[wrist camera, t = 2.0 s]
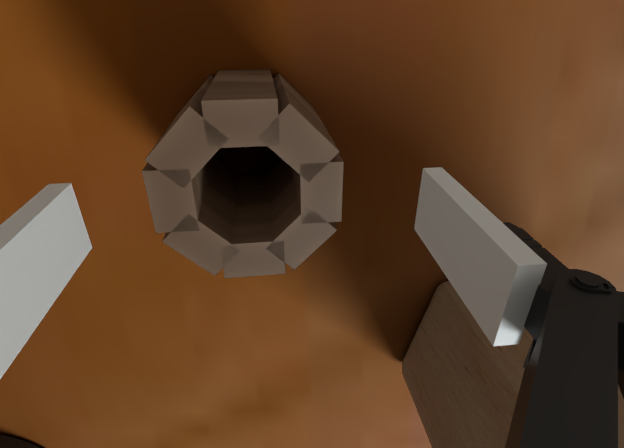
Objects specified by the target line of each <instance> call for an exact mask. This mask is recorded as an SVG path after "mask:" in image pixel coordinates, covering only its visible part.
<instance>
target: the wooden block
mask: <svg viewBox="0 0 624 448" xmlns="http://www.w3.org/2000/svg"><path fill="white" fill-rule="evenodd" d="M532 341H533V337H532V336H531V335H530V333H529V332H528V331H527V330H526V328H524V331H523V334H522V337H521V340H520V343H519V344H515V345H504V346H493V345H492V344H491V342H490V341H489V340H488V338H487V337H486V335H485V334H484V332H483V331H482V329H481V328H480V326H479V325H478V323H477V322H476V320H475V319H474V317H473V316H472V314H471V313H470V311H469V310H468V308H467V307H466V305H465V304H464V302H463V301H462V299H461V298H460V296H459V295H458V293H457V292H456V290H455V289H454V287H453V286H452V284H451V283H450V281H448V282H443V283H441V284H440V285H439V286H438V287H437V289H436V291H435V293H434V295H433V297H432V299H431V302H430V304H429V306H428V308H427V310H426V312H425V314H424V317H423V319H422V321H421V323H420V325H419V327H418V329H417V332H416V334H415V336H414V338H413V340H412V342H411V344H410V347H409V349H408V351H407V353H406V355H405V357H404V359H403V363H402V373H403V376H404V378H405V381H406V383H407V386H408V388H409V391H410V393H411V396H412V398H413V401H414V403H415V406H416V408H417V411H418V413H419V416H420V418H421V421H422V423H423V426H424V428H425V431H426V433H427V436H428V438H429V441H430V443H431V446H432V448H505V445H506V441H507V437H508V433H509V429H510V425H511V421H512V417H513V413H514V409H515V405H516V401H517V397H518V393H519V389H520V385H521V381H522V377H523V373H524V369H525V368H524V367H523V365H524V362H525V359H526V357H527V354H528V351H529V349H530V346H531V343H532ZM618 448H624V399H623V396H622V394H621V391H620V388H619V385H618Z"/></svg>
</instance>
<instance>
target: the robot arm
mask: <svg viewBox="0 0 624 448" xmlns="http://www.w3.org/2000/svg"><path fill="white" fill-rule="evenodd" d="M414 229H415V231H416V232H417V234H418V235H419V237H420V238H421V240H422V241H423V243H424V244H425V246H426V247H427V249H428V250H429V252H430V253H431V255H432V256H433V258H434V259H435V261H436V262H437V264H438V265H439V267H440V268H441V270H442V271H443V273H444V274H445V276H446V277H447V279H448V280H449V281H450V283H451V284H452V286H453V287H454V289H455V290H456V292H457V293H458V295H459V296H460V298H461V299H462V301H463V302H464V304H465V305H466V307H467V308H468V310H469V311H470V313H471V314H472V316H473V317H474V319H475V320H476V322H477V323H478V325H479V326H480V328H481V329H482V331H483V332H484V334H485V335H486V337H487V338H488V340H489V341H490V342H491V344H492V345H493V346H504V345H515V344H519V343H520V340H521V337H522V334H523V331H524V328H526V330H527V331H528V332H529V333H530V335H531V336H532V337H533V341H532V343H531V346H530V349H529V351H528V354H527V357H526V359H525V362H524V365H523V367H524V368H525V369H524V373H523V377H522V381H521V385H520V389H519V393H518V397H517V401H516V405H515V409H514V413H513V417H512V421H511V425H510V429H509V433H508V437H507V441H506V445H505V448H618V385H619V388H620V391H621V394H622V396H623V399H624V292H619V291H616V288H615V287H614V286H613V285H612V284H611V283H610V282H609V281H607V280H606V279H604V278H602V277H601V276H599V275H596V274H593V273H591V272H588V271H583V270H578V269H568V268H567V267H566V266H565V265H563V264H562V263H561V262H560V261H559V260H558V259H557V258H555V257H554V256H553V255H552V254H551V253H550V252H548V251H547V250H546V249H545V248H542V245H540V244H539V243H538V242H537V241H536V240H534V239H533V238H532V237H531V236H530V235H529V234H528V233H527V232H525V231H524V230H523V229H521V228H519V227H517V226H515V225H513V224H511V223H509V222H506V223H502V222H501V221H500V220H499V219H498V218H497V217H496V216H494V215H493V214H492V213H491V212H490V211H489V210H488V209H487V208H486V207H485V206H484V205H482V204H481V203H480V202H479V201H478V200H477V199H476V198H475V197H474V196H473V195H471V194H470V193H469V192H468V191H467V190H466V189H465V188H464V187H463V186H462V185H461V184H459V183H458V182H457V181H456V180H455V179H454V178H453V177H452V176H451V175H450V174H449V173H447V172H446V171H445V170H444V169H443V168H442V167H436V168H423V171H422V178H421V185H420V192H419V199H418V206H417V213H416V220H415V227H414ZM91 249H92V245H91V242H90V239H89V236H88V233H87V230H86V227H85V224H84V221H83V218H82V215H81V212H80V209H79V205H78V202H77V199H76V196H75V193H74V190H73V187H72V184H71V183H63V184H48V185H47V186H46V187H45V188H44V189H42V190H41V191H40V192H39V193H38V194H37V195H35V196H34V197H33V198H32V199H31V200H29V201H28V202H27V203H26V204H25V205H24V206H22V207H21V208H20V209H19V210H18V211H16V212H15V213H14V214H13V215H12V216H11V217H9V218H8V219H7V220H6V221H5V222H4V223H2V224H1V225H0V379H1V378H2V376H3V375H4V373H5V372H6V371H7V369H8V368H9V366H10V365H11V363H12V362H13V361H14V359H15V358H16V356H17V355H18V353H19V352H20V351H21V349H22V348H23V346H24V345H25V343H26V342H27V340H28V339H29V338H30V336H31V335H32V333H33V332H34V330H35V329H36V328H37V326H38V325H39V323H40V322H41V320H42V319H43V317H44V316H45V315H46V313H47V312H48V310H49V309H50V307H51V306H52V305H53V303H54V302H55V300H56V299H57V297H58V296H59V295H60V293H61V292H62V290H63V289H64V287H65V286H66V284H67V283H68V282H69V280H70V279H71V277H72V276H73V274H74V273H75V272H76V270H77V269H78V267H79V266H80V264H81V263H82V261H83V260H84V259H85V257H86V256H87V254H88V253H89V251H90V250H91ZM0 448H40V447H38V446H36V445H33V444H31V443H28V442H26V441H23V440H20V439H16V438H13V437H9V436H4V435H0Z"/></svg>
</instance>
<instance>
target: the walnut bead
mask: <svg viewBox="0 0 624 448" xmlns="http://www.w3.org/2000/svg"><path fill="white" fill-rule="evenodd" d="M255 146H268V147H269V148H270V149H271V150H272V151H274V152H275V153H276V154H277V155H278V156H279V157H280V158H282V159H283V160H282V161H281V162H280V163H279V164H278V165H277V166H276V168H275V169H274V170H273V171H272V172H271V173H270V174H269V175H266V176H246V177H238V176H237V175H235V174H234V173H233V172H232V171H230V170H229V169H228V168H227V167H225V166H224V165H223V164H222V163H220V162H219V161H218V160H217V159H215V157H214V154H215V153H216V152H217V151H218V150H219V149H220V148H231V147H255ZM339 152H340V151H339V150H338V148H337V146H336V145H335V143H334V141H333V140H332V138H331V136H330V134H329V133H328V131H327V129H326V128H325V126H324V124H323V123H322V121H321V119H320V117H319V116H318V114H317V112H316V111H315V109H314V108H313V107H312V106H311V105H310V104H309V103H308V102H307V101H306V100H305V99H304V98H303V97H302V96H301V95H300V94H299V93H298V92H297V91H296V90H295V89H294V88H293V87H292V86H291V85H290V84H289V83H288V82H287V81H286V80H285V79H284V78H283V77H282V76H281V75H280V74H279V73H278V74H277V75H276V76H275V77H274V79H273V78H272V74H271V70H270V69H269V70H219V71H218V72H217V74H216V76H215V78H214V77H213V76H212V75H210V76H209V77H208V78H207V79H206V81H205V82H204V83H203V84H202V85H201V87H200V88H199V89H198V90H197V92H196V93H195V94H194V95H193V96H192V98H191V99H190V100H189V101H188V102H187V104H186V105H185V106H184V107H183V108H182V110H181V111H180V112H179V113H178V115H177V116H176V118H175V119H174V120H173V122H172V123H171V124H170V126H169V127H168V129H167V130H166V131H165V133H164V134H163V135H162V137H161V138H160V140H159V141H158V142H157V144H156V145H155V146H154V148H153V149H152V151H151V152H150V153H149V155H148V156H147V157H146V159H145V161H146V162H148V163H147V165H146V166H145V168H144V169H143V170H142V173H143V178H144V182H145V187H146V191H147V196H148V200H149V204H150V209H151V213H152V218H153V222H154V227H155V231H156V233H166V234H165V236H164V239H163V241H162V242H163V243H165V244H167V245H168V246H170V247H171V248H173V249H174V250H176V251H177V252H179V253H180V254H182V255H184V256H185V257H187V258H188V259H190V260H191V261H193V262H194V263H196V264H197V265H199V266H201V267H202V268H204V269H205V270H207V271H208V272H210V273H211V274H213V275H216V274H217V273H218V272H219V271H220V270H221V269H222V268H224V275H225V278H233V277H246V276H259V275H272V274H285V263H286V264H287V265H289V266H290V267H292V268H293V269H294V270H295V269H296V268H297V267H298V266H299V265H300V264H301V263H302V262H303V261H304V260H305V259H306V258H308V257H309V256H310V255H311V254H312V253H313V252H314V251H315V250H316V249H317V248H318V247H320V246H321V245H322V244H323V243H324V242H325V241H326V240H327V239H328V238H329V237H330V236H331V235H333V234H334V233H335V232H336V231H337V229H336V226H335V223H334V222H341V218H342V192H343V165H344V162H343V160H342V158H341V156H340V155H339Z"/></svg>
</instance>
